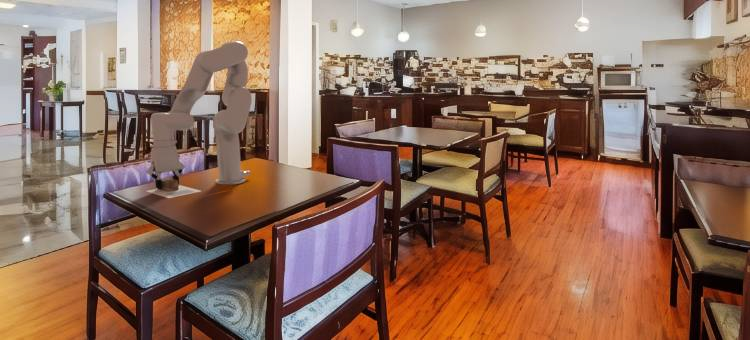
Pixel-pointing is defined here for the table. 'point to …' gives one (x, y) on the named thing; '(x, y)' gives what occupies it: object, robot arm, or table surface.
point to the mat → (174, 192)
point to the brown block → (169, 184)
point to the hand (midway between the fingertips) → (167, 186)
